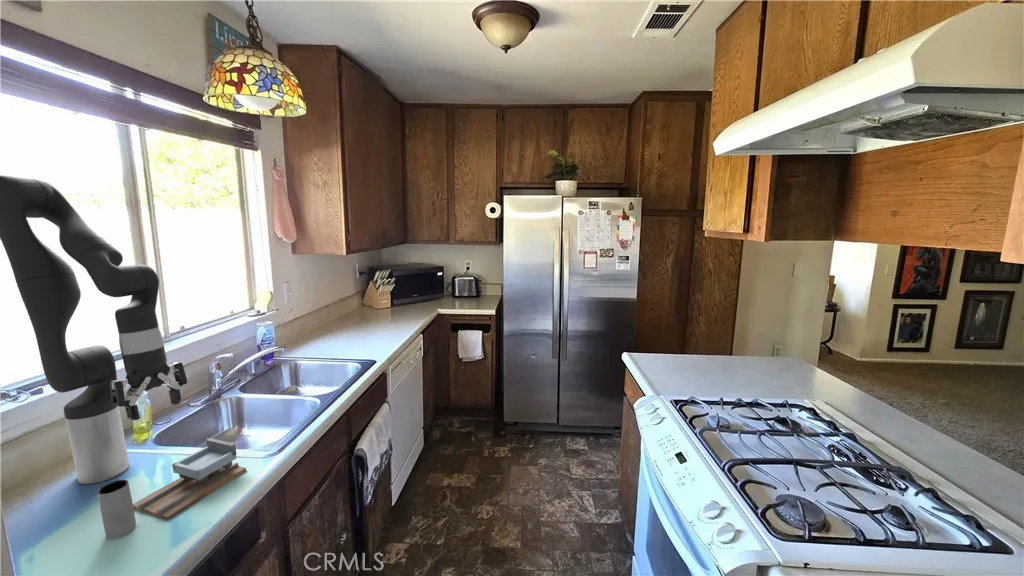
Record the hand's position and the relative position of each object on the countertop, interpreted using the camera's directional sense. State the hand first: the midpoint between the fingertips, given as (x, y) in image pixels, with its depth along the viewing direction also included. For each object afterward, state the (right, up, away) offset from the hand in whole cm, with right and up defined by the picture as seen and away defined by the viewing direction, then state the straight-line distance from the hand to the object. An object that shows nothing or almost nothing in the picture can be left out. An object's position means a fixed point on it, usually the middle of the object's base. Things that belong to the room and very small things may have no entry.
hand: (156, 411), depth 97 cm
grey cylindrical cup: (+6, -21, -14) cm, 26 cm away
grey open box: (+11, -16, +2) cm, 19 cm away
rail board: (+10, -18, -1) cm, 21 cm away
